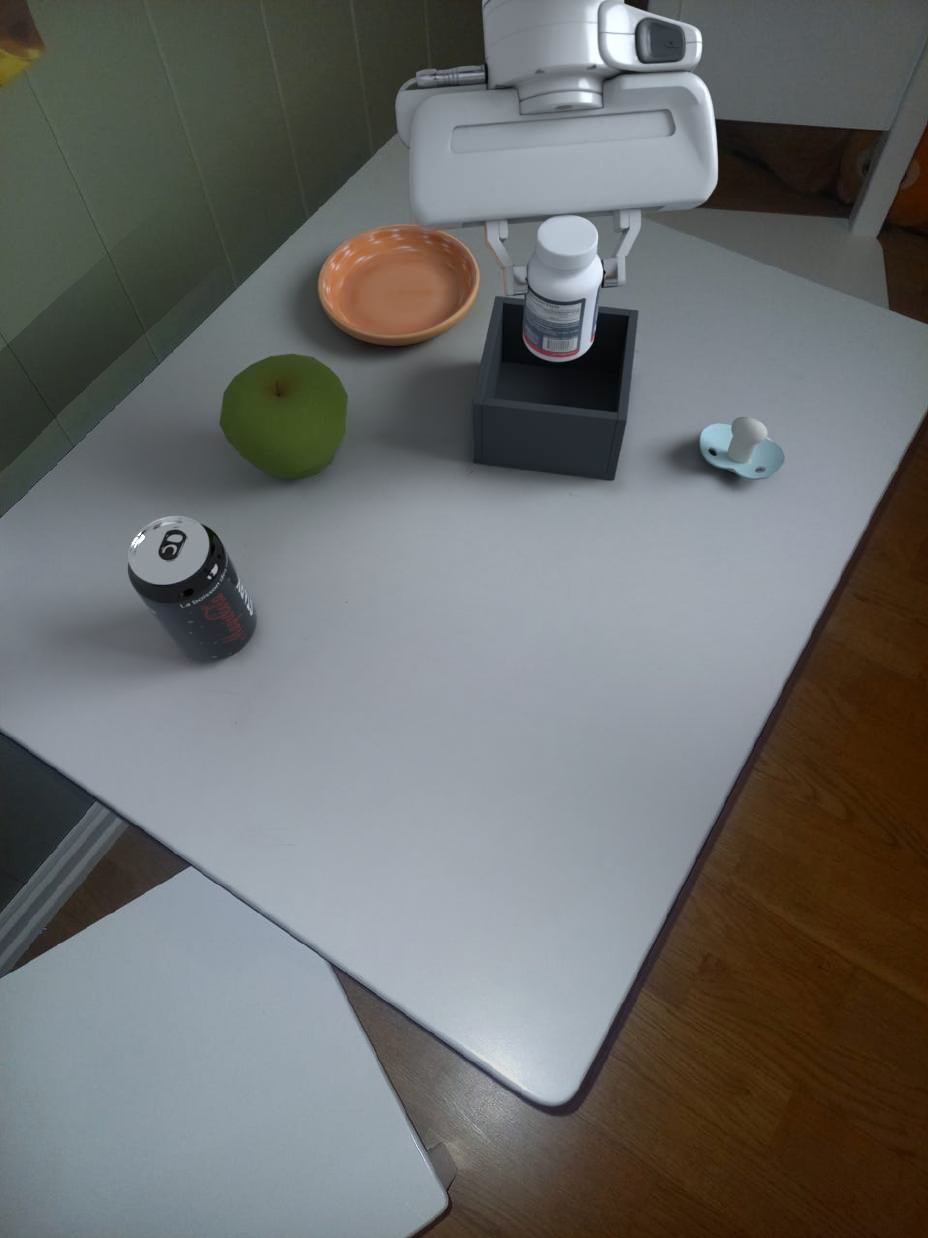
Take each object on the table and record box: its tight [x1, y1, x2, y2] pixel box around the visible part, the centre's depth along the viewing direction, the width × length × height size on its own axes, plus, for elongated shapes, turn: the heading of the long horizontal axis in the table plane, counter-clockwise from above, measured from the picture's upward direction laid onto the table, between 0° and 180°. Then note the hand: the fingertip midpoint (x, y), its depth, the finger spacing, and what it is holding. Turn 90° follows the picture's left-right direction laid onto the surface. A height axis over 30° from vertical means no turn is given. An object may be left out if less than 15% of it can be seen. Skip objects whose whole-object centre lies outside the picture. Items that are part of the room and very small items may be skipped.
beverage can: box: [127, 515, 258, 663], centre depth 63 cm, size 7×7×12 cm
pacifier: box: [698, 416, 786, 481], centre depth 73 cm, size 7×6×6 cm
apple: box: [219, 353, 349, 480], centre depth 72 cm, size 11×10×10 cm
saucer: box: [317, 223, 480, 347], centre depth 84 cm, size 16×16×3 cm
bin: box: [471, 295, 639, 481], centre depth 75 cm, size 13×13×8 cm
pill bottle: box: [523, 215, 603, 362], centre depth 59 cm, size 5×5×9 cm
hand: (565, 291), depth 58 cm, fingers closed on pill bottle, 5 cm apart
